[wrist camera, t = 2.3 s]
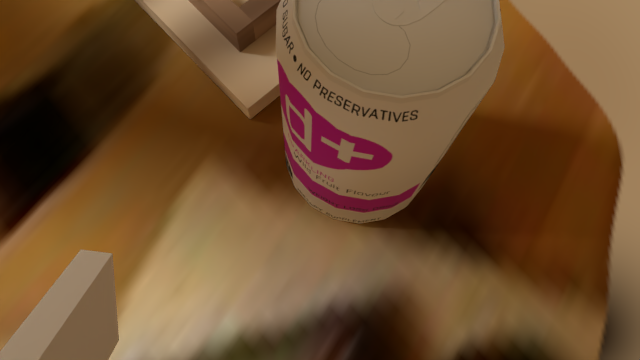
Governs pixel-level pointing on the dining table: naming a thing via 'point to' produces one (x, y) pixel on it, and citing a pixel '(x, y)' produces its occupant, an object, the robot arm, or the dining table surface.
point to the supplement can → (378, 94)
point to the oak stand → (227, 44)
